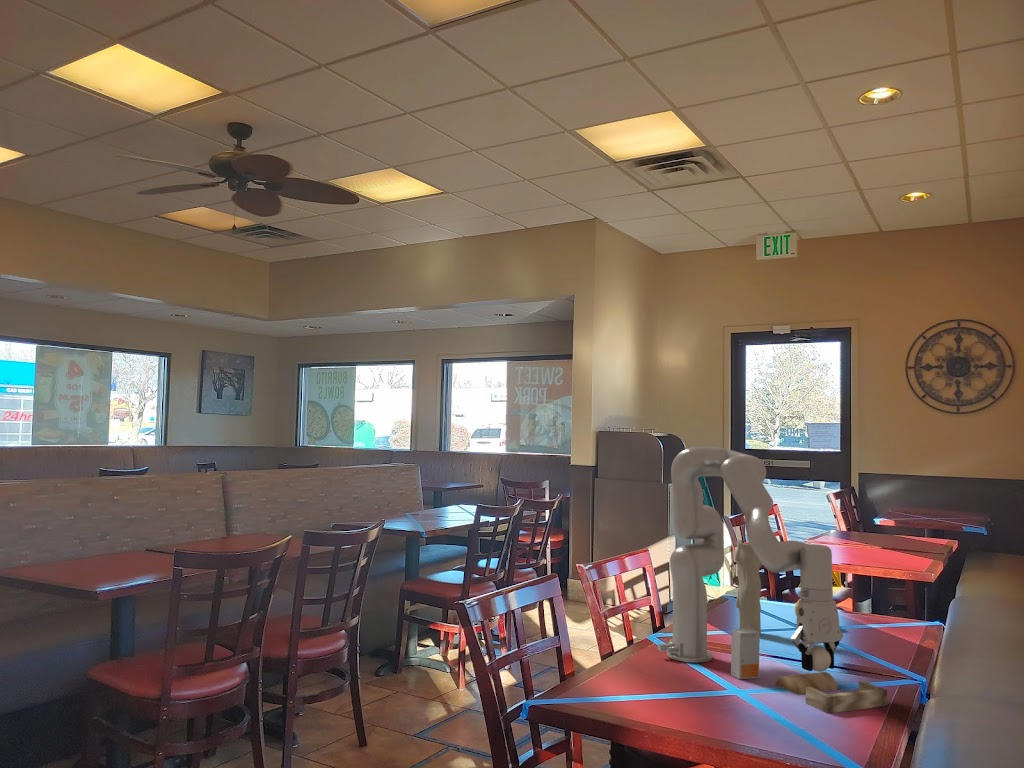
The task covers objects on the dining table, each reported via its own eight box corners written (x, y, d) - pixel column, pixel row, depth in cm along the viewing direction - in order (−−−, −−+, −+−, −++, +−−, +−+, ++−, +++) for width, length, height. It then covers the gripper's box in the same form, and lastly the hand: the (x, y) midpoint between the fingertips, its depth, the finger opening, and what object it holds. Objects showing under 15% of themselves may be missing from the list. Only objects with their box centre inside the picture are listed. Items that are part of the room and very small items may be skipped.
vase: (732, 634, 248) (732, 539, 250) (738, 629, 256) (739, 536, 258) (759, 638, 244) (759, 541, 246) (765, 632, 251) (765, 539, 253)
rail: (827, 713, 178) (827, 697, 178) (805, 702, 184) (805, 687, 185) (887, 705, 184) (887, 690, 184) (863, 696, 191) (863, 681, 191)
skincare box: (739, 680, 201) (739, 632, 202) (730, 675, 205) (730, 628, 206) (760, 678, 203) (760, 631, 204) (750, 673, 207) (751, 627, 208)
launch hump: (796, 715, 190) (796, 681, 191) (775, 704, 198) (775, 672, 198) (838, 709, 195) (838, 677, 195) (816, 699, 202) (816, 668, 203)
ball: (817, 675, 190) (816, 650, 190) (800, 668, 195) (799, 644, 196) (836, 673, 192) (836, 648, 192) (819, 666, 197) (818, 642, 198)
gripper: (799, 599, 188) (800, 676, 187) (854, 595, 194) (856, 669, 193) (778, 594, 195) (779, 667, 194) (832, 590, 201) (834, 661, 200)
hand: (817, 667), depth 194 cm, fingers closed on ball, 6 cm apart
